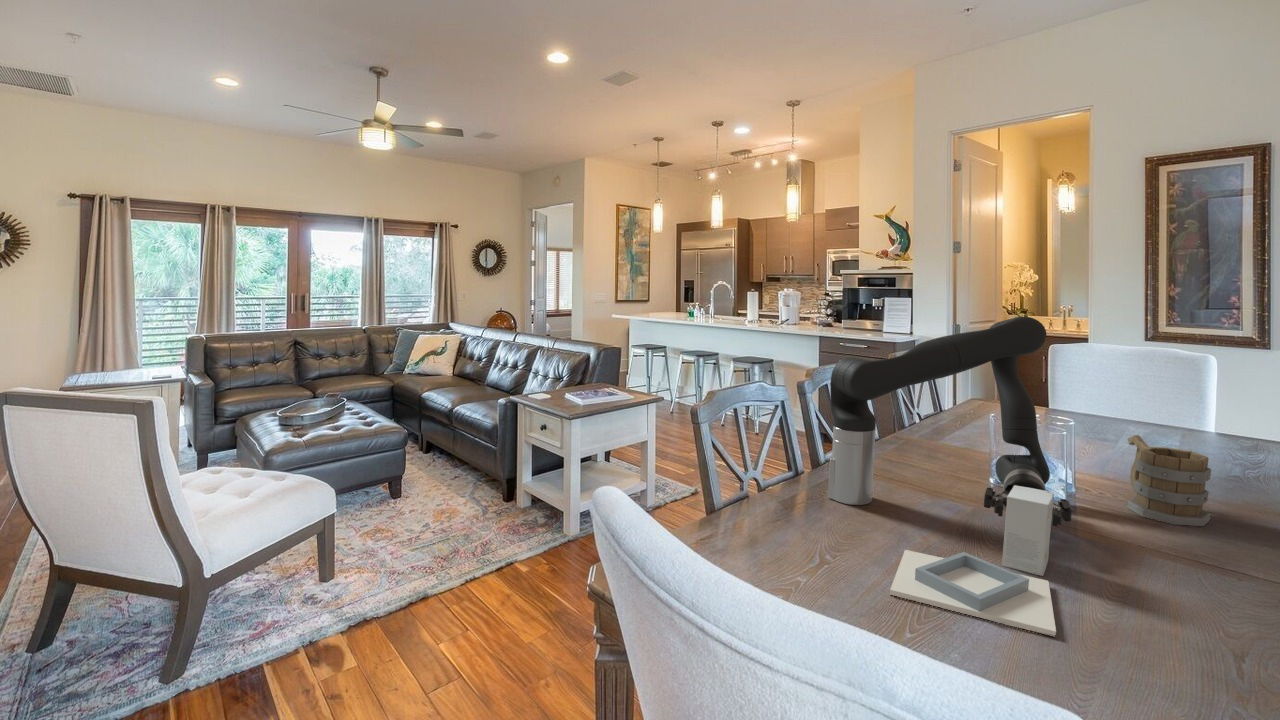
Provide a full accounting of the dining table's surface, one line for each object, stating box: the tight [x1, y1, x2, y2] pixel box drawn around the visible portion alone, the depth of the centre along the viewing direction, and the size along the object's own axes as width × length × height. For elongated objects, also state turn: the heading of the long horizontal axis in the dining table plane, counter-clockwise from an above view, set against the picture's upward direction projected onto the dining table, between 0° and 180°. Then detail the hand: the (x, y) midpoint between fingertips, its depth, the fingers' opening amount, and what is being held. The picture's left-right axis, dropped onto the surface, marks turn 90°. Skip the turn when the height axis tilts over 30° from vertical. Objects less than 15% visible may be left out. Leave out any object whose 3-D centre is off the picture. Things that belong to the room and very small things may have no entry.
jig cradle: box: [889, 549, 1057, 636], centre depth 96 cm, size 22×17×3 cm
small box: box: [1001, 485, 1055, 577], centre depth 105 cm, size 8×6×13 cm
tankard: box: [1126, 434, 1212, 527], centre depth 131 cm, size 20×13×15 cm, turn 170°
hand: (1027, 516), depth 109 cm, fingers open, 8 cm apart
